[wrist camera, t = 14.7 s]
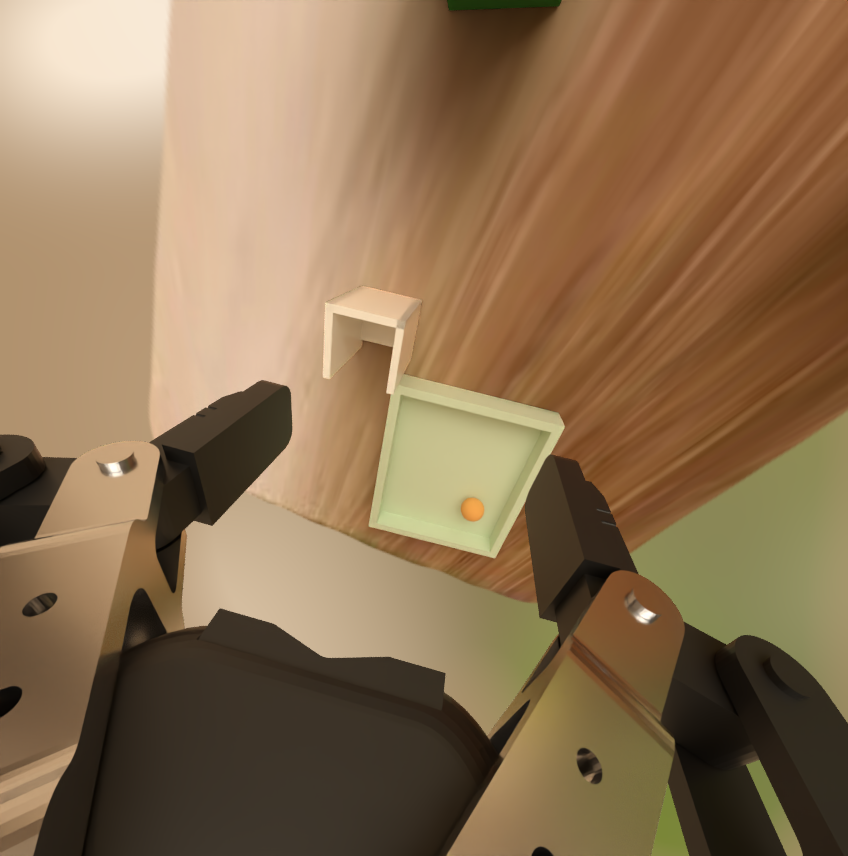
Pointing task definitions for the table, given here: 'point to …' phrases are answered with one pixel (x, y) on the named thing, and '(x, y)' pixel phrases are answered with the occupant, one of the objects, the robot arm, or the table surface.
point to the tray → (458, 463)
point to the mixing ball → (472, 509)
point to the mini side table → (370, 328)
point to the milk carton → (499, 4)
